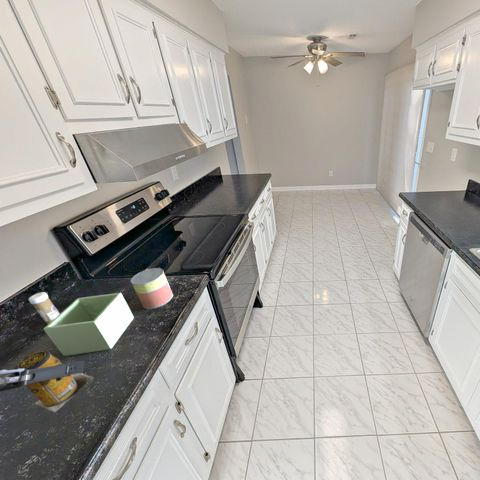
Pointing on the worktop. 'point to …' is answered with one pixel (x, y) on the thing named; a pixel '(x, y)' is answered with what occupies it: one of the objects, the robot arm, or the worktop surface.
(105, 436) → the worktop surface
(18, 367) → the condiment
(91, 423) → the worktop surface
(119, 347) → the worktop surface
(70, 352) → the trash bin
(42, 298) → the sprinkles bottle
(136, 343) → the worktop surface
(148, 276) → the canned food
